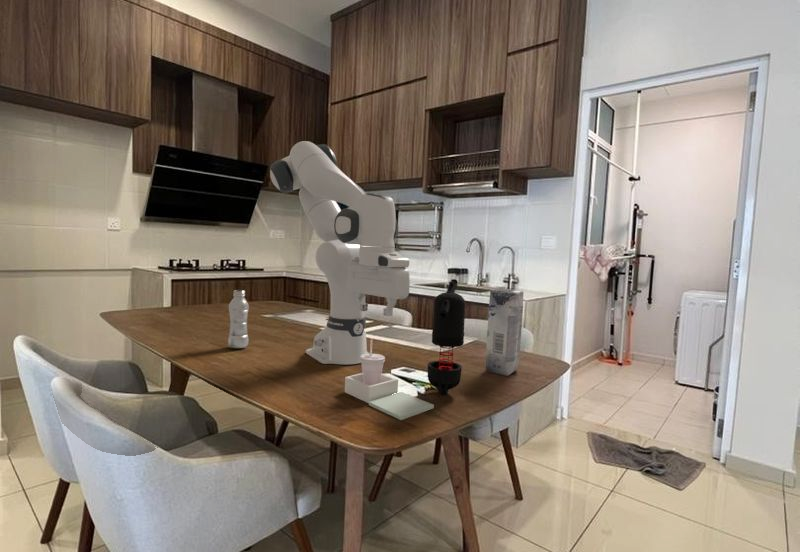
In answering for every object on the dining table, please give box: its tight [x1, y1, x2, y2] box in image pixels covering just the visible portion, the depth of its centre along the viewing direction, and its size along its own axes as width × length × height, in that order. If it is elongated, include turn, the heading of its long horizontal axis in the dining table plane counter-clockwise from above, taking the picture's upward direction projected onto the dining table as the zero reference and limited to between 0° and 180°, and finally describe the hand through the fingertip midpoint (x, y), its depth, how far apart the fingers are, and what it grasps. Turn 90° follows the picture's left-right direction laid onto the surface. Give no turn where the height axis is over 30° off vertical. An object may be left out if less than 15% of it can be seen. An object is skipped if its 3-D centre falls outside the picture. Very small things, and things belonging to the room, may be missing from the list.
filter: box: [427, 278, 466, 396], centre depth 109 cm, size 14×9×30 cm
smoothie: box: [360, 339, 386, 386], centre depth 108 cm, size 6×6×14 cm
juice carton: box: [485, 285, 524, 377], centre depth 133 cm, size 9×10×27 cm
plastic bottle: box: [227, 289, 250, 350], centre depth 145 cm, size 6×7×20 cm
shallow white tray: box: [344, 372, 399, 404], centre depth 108 cm, size 10×10×4 cm
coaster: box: [368, 391, 435, 421], centre depth 101 cm, size 11×11×1 cm
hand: (375, 313), depth 107 cm, fingers open, 8 cm apart
